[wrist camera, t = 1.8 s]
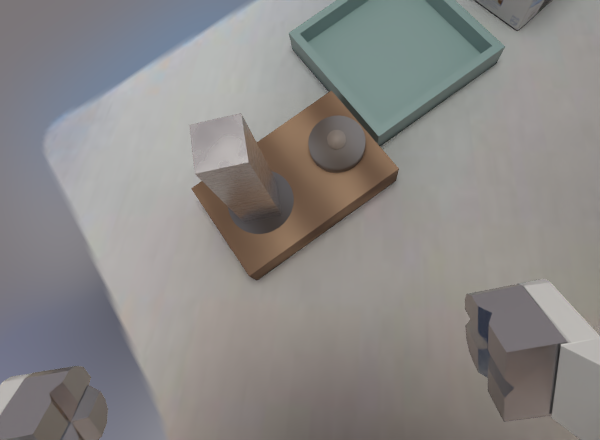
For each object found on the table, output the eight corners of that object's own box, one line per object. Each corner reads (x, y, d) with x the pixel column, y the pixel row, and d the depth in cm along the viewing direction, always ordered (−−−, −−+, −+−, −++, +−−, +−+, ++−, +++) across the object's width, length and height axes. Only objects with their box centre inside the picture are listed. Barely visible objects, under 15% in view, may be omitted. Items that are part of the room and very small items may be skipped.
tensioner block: (333, 106, 42) (330, 79, 38) (395, 180, 40) (401, 160, 35) (202, 198, 42) (183, 181, 37) (257, 280, 39) (243, 273, 34)
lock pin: (275, 179, 38) (241, 113, 26) (281, 215, 37) (248, 162, 25) (239, 187, 38) (189, 124, 27) (244, 223, 37) (194, 173, 26)
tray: (401, -27, 46) (404, -47, 43) (496, 63, 41) (504, 46, 39) (292, 49, 45) (288, 32, 42) (377, 147, 41) (378, 136, 38)
